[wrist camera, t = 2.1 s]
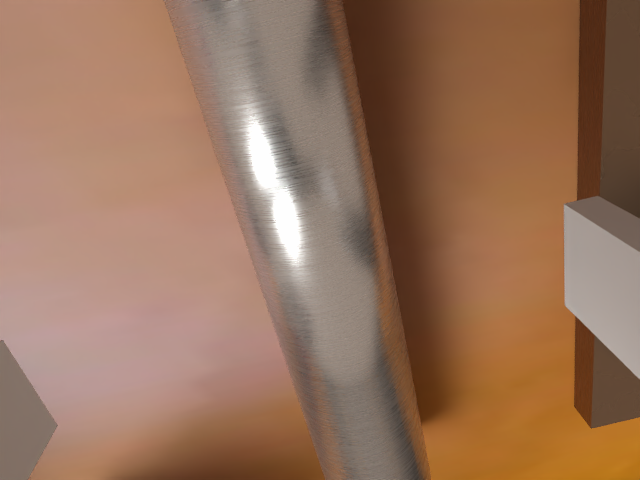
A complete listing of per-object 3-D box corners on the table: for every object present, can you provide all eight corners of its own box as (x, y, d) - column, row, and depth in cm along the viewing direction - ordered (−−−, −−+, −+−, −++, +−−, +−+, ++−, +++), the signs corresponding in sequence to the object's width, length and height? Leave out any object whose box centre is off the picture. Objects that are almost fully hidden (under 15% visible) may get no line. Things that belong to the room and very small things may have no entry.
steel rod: (24, -352, 11) (4, -592, 7) (218, -347, 13) (291, -542, 9) (312, 469, 25) (363, 551, 20) (390, 420, 26) (453, 486, 22)
